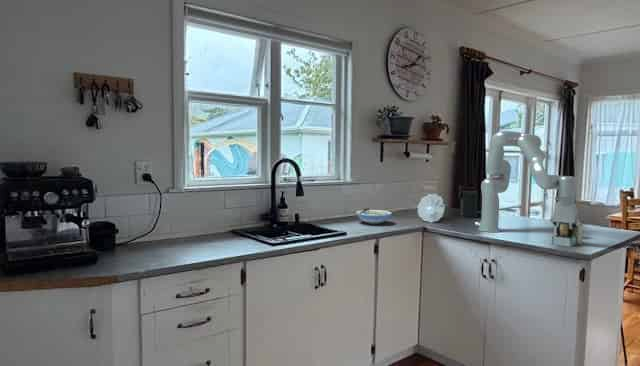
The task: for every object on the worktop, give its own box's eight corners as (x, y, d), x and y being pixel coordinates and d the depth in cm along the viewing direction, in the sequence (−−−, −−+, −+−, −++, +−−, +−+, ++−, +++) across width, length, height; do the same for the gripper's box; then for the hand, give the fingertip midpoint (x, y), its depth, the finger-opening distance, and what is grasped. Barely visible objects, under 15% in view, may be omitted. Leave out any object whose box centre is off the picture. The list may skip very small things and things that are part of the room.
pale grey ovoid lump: (423, 228, 277) (425, 221, 301) (449, 218, 272) (449, 211, 296) (411, 203, 278) (414, 197, 301) (437, 193, 272) (438, 188, 296)
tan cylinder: (557, 238, 217) (558, 222, 216) (560, 237, 220) (561, 221, 219) (567, 239, 213) (568, 224, 213) (569, 238, 217) (570, 223, 216)
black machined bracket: (472, 214, 317) (474, 185, 315) (477, 218, 297) (479, 187, 295) (456, 213, 319) (457, 184, 317) (460, 218, 299) (461, 187, 297)
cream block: (547, 243, 218) (548, 222, 217) (553, 240, 226) (555, 219, 225) (575, 247, 209) (577, 225, 208) (581, 244, 217) (582, 222, 216)
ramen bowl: (388, 227, 257) (388, 214, 257) (351, 225, 264) (351, 212, 264) (394, 221, 281) (394, 209, 280) (360, 219, 288) (361, 207, 287)
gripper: (545, 199, 218) (544, 234, 220) (583, 202, 207) (580, 239, 208) (550, 198, 224) (548, 232, 225) (587, 201, 212) (584, 237, 213)
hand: (564, 235), depth 216 cm, fingers closed on tan cylinder, 4 cm apart
